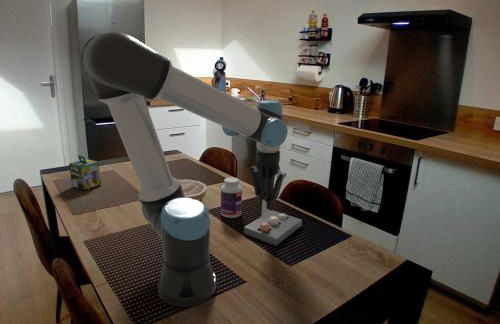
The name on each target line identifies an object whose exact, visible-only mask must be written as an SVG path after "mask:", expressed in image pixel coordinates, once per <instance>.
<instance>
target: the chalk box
mask: <svg viewBox="0 0 500 324" xmlns="http://www.w3.org/2000/svg"><path fill="white" fill-rule="evenodd" d="M77 158H78V160H76V161H74V162H70V163H68V167H69V172H70V173H69V174H70V180H71V181H70V182H71V187H72V186H74V187H76V188H75V189H77V188H79V189H82V190H86V189H88V190H90V189H89V188H91V187H94V188H96V187H95V186H97V187H99V186H98V185H100V184H101V185H102V178H101V171H100V164H99V161H97V160H94V159H93V160H92V159H88V158H85V156H82V155H80V154H78V155H77ZM101 185H100V186H101ZM74 187H73V188H74ZM79 189H78V190H79ZM91 189H92V188H91ZM82 190H81V191H82ZM86 191H87V190H86Z"/></svg>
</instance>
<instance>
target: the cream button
mask: <svg viewBox="0 0 500 324" xmlns="http://www.w3.org/2000/svg"><path fill="white" fill-rule="evenodd" d="M278 222H279V218H278V217H276V216H272V217H270V221H269V224H270V225H271V226H274V227H277V226H278Z"/></svg>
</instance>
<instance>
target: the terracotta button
mask: <svg viewBox="0 0 500 324" xmlns="http://www.w3.org/2000/svg"><path fill="white" fill-rule="evenodd" d="M269 225H270V224H269V223H267V222H262V223H260V231H261V232H263V233H268V232H269Z"/></svg>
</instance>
